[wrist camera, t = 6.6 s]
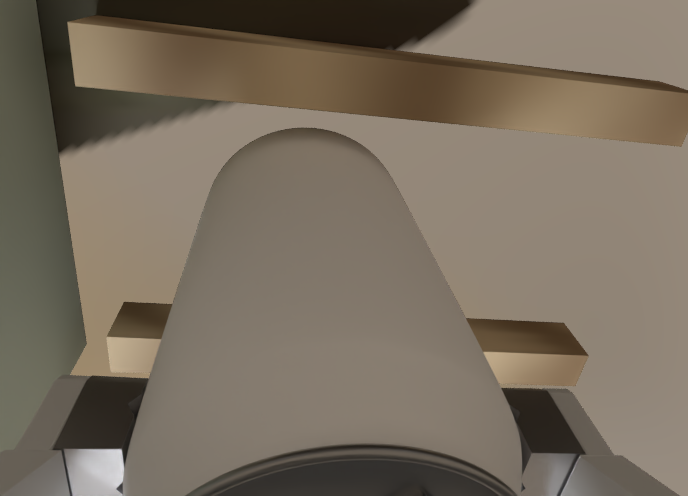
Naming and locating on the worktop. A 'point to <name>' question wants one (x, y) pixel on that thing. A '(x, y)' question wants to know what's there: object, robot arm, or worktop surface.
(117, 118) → the worktop surface
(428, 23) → the worktop surface
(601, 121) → the rails
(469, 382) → the can
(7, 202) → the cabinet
